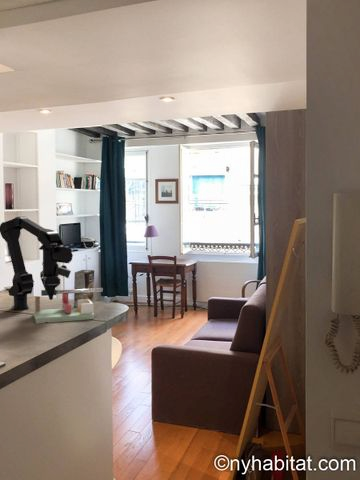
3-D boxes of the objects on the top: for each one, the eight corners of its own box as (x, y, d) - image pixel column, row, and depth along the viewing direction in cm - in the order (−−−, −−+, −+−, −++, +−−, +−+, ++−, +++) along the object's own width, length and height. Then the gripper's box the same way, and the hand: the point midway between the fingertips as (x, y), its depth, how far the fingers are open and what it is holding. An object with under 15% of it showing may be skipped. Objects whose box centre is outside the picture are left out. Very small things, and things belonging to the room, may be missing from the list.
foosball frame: (33, 315, 188) (33, 296, 187) (88, 311, 197) (88, 293, 196) (36, 323, 176) (36, 303, 175) (94, 318, 185) (94, 300, 184)
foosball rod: (41, 308, 189) (41, 289, 188) (101, 304, 199) (101, 286, 198) (43, 314, 180) (43, 294, 179) (106, 310, 190) (107, 291, 189)
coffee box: (86, 307, 202) (87, 273, 201) (73, 306, 204) (73, 272, 202) (94, 303, 211) (94, 269, 210) (81, 302, 213) (82, 269, 211)
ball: (87, 312, 192) (78, 315, 191) (85, 303, 191) (76, 307, 190) (89, 314, 189) (80, 318, 187) (87, 306, 188) (77, 309, 186)
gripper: (72, 263, 182) (72, 301, 183) (66, 257, 199) (65, 291, 200) (44, 264, 177) (44, 302, 179) (40, 258, 195) (40, 293, 196)
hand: (49, 297), depth 189 cm, fingers open, 9 cm apart
